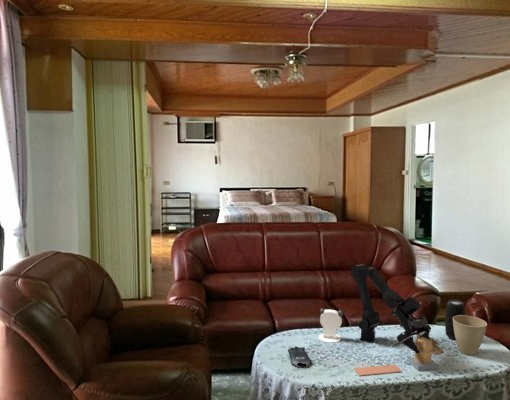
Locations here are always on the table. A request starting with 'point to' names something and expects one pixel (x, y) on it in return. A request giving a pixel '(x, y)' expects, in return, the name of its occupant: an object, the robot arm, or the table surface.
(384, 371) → the terracotta mat
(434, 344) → the wooden fragment
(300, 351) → the electronic device
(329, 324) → the panda figurine
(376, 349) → the table surface
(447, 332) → the portable speaker
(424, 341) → the oak block
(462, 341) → the plant pot
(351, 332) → the table surface
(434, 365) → the slate ledge
